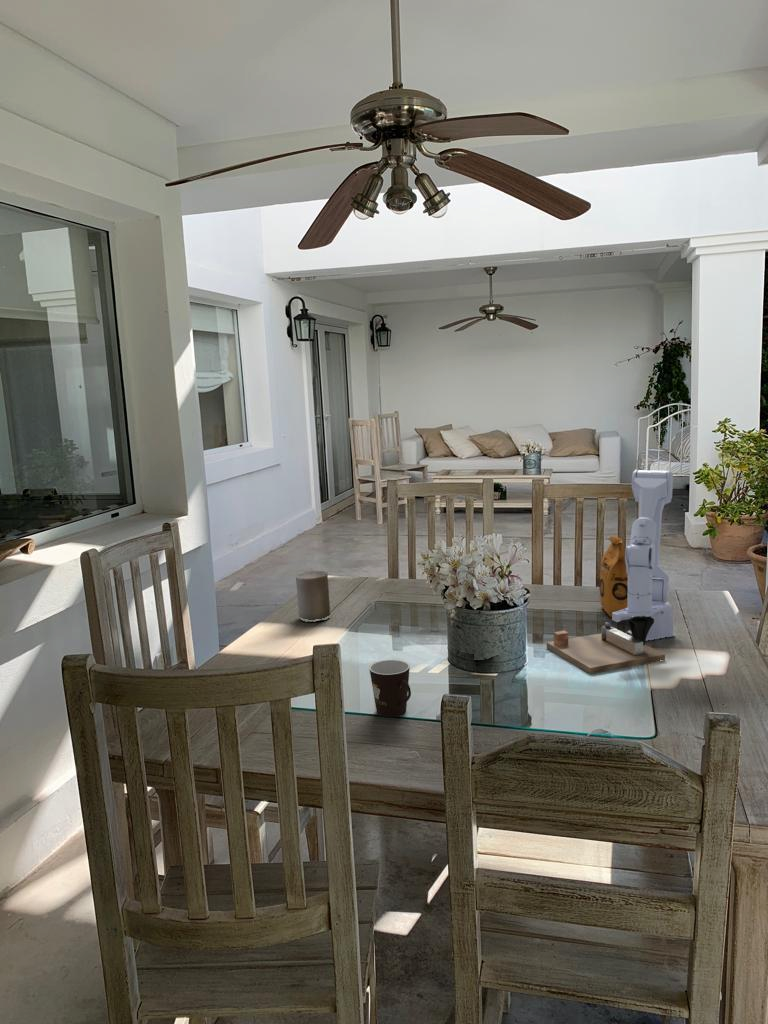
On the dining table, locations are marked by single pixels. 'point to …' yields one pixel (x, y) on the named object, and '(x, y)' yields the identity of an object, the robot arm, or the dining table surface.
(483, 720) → the dining table surface
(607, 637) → the bar
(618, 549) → the coffee package
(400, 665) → the coffee mug
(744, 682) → the dining table surface
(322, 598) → the pillar candle
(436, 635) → the dining table surface
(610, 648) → the brown wooden board
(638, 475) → the robot arm
